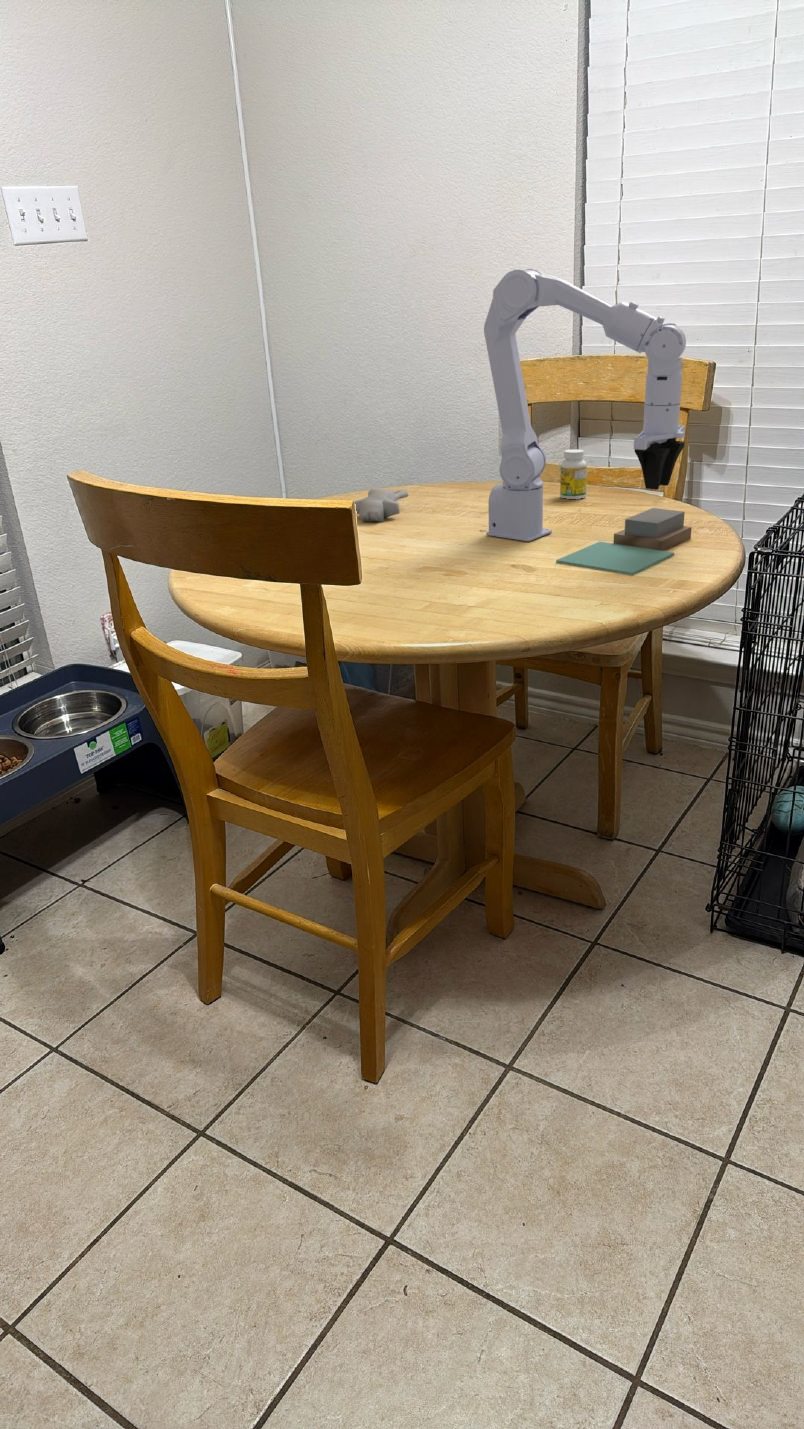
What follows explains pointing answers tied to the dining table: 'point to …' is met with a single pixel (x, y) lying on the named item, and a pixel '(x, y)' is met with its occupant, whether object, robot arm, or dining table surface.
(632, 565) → the teal mat
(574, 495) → the supplement bottle
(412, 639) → the dining table surface
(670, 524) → the slate tile
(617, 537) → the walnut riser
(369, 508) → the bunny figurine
